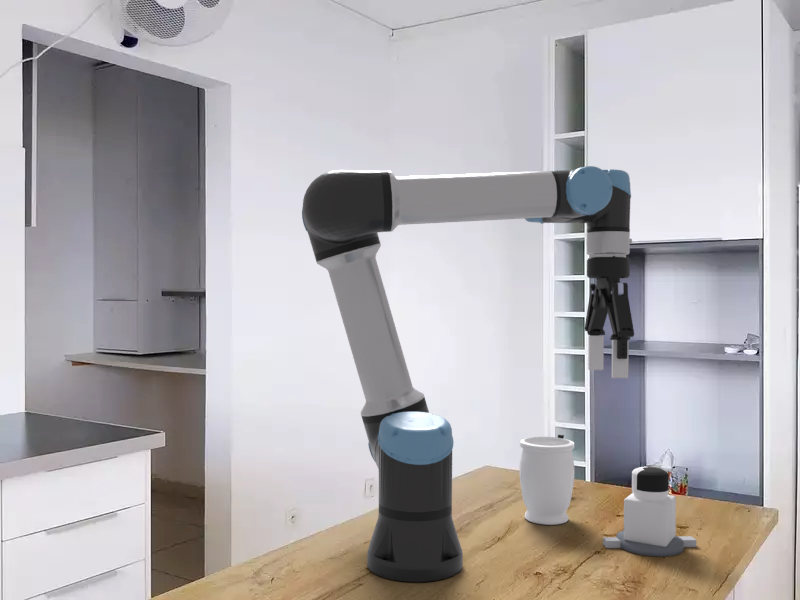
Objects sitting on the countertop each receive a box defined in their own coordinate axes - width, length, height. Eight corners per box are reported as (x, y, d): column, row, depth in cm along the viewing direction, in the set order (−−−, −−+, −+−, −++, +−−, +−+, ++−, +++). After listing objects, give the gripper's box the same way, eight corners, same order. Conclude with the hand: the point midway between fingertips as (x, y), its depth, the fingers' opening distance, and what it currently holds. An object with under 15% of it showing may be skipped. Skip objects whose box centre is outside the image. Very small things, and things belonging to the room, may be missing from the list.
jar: (574, 529, 142) (575, 447, 141) (517, 525, 144) (518, 445, 143) (573, 513, 152) (574, 437, 152) (520, 509, 154) (520, 434, 154)
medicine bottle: (675, 536, 134) (676, 467, 134) (666, 548, 128) (666, 475, 127) (634, 529, 137) (634, 462, 137) (623, 540, 131) (623, 470, 131)
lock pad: (615, 557, 127) (615, 549, 127) (591, 532, 140) (591, 525, 140) (708, 555, 127) (708, 548, 127) (675, 531, 141) (675, 524, 141)
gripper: (654, 253, 128) (653, 381, 128) (606, 259, 152) (605, 366, 153) (610, 252, 127) (609, 381, 127) (569, 259, 152) (568, 366, 152)
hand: (607, 373), depth 140 cm, fingers open, 13 cm apart
